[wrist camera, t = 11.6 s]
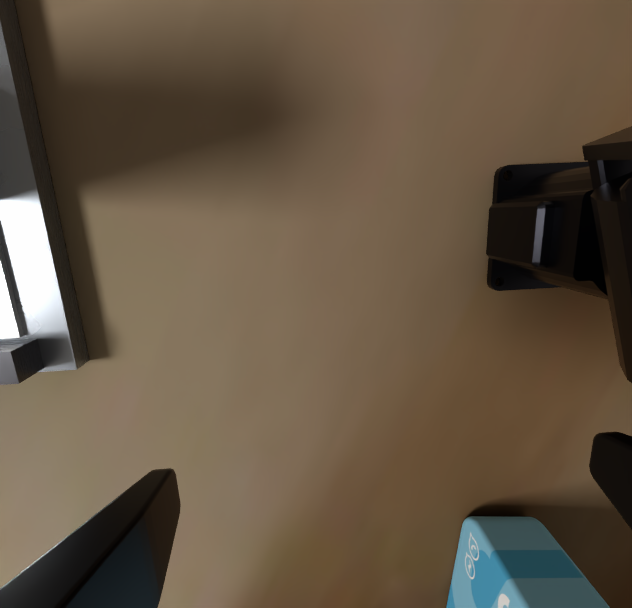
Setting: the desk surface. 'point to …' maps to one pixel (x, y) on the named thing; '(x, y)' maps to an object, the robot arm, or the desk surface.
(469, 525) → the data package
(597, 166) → the robot arm
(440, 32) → the desk surface
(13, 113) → the mounting plate
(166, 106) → the desk surface
